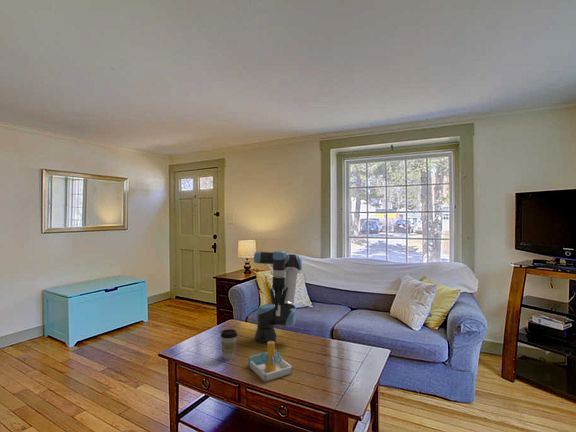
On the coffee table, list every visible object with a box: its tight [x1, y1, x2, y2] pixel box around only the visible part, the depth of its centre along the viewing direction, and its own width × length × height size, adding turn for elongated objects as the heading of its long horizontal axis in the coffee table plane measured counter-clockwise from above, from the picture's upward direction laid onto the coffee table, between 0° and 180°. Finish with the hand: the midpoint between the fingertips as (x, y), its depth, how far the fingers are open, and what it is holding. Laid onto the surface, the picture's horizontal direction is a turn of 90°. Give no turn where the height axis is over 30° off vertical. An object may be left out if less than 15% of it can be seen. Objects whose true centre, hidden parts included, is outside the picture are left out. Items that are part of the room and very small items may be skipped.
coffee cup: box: [220, 328, 238, 360], centre depth 182 cm, size 10×10×15 cm
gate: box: [247, 349, 278, 367], centre depth 176 cm, size 18×2×6 cm, turn 122°
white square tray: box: [246, 355, 294, 383], centre depth 169 cm, size 17×21×4 cm
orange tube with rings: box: [260, 341, 282, 372], centre depth 167 cm, size 12×10×15 cm
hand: (277, 315), depth 185 cm, fingers closed
